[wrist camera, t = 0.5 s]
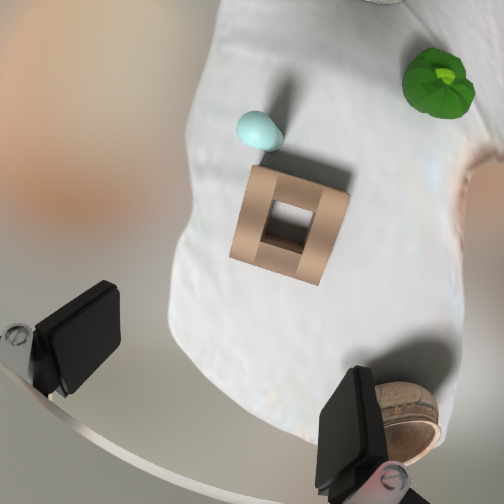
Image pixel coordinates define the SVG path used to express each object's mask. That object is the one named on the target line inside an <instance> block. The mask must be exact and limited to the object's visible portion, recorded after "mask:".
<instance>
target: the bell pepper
mask: <svg viewBox="0 0 504 504" xmlns="http://www.w3.org/2000/svg"><path fill="white" fill-rule="evenodd" d="M402 85H403V91H404V96H405V98H406V99H407V101H408V103H409V104H410V105H411V106H412V107H414V108H415V109H417V110H418V111H419V112H422V113H429V114H430V115H431V116H433V117H436V118H441V119H456V118H460V117H462V116H463V115H464V114H465V113H466V112H468V110H469V107H470V105H471V103H472V101H473V98H474V96H475V90H474V87H473V84H472V83H471V82H470V81H469V80H467V79H466V71H465V68H464V66H463V64H462V62H461V60H460V58H458V57H455V56H453V55H451V54H449V53H446V52H444V51H441V50H439V49H436V48H428V49H426V50H425V51H423V52H421V53H420V54H419V55H418V56H417V57H416V58H415V59H414V60H413V61H412V62H411V63H410V65H409V66H408V68H407V71H406V74H405V77H404V80H403V84H402Z"/></svg>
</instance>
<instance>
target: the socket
mask: <svg viewBox="0 0 504 504" xmlns="http://www.w3.org/2000/svg"><path fill="white" fill-rule="evenodd" d="M350 196H351V195H349V194H348V193H346V192H344V191H341V190H338V189H336V188H333V187H330V186H327V185H324V184H321V183H318V182H314V181H311V180H308V179H305V178H302V177H299V176H295V175H292V174H289V173H285V172H282V171H278V170H275V169H271V168H268V167H264V166H260V165H252V169H251V172H250V176H249V180H248V184H247V188H246V191H245V195H244V199H243V203H242V207H241V211H240V215H239V219H238V222H237V226H236V230H235V234H234V238H233V242H232V246H231V250H230V254H229V257H230V258H233V259H236V260H239V261H242V262H245V263H248V264H251V265H255V266H258V267H261V268H264V269H267V270H270V271H273V272H276V273H279V274H282V275H286V276H289V277H292V278H295V279H298V280H301V281H304V282H307V283H311V284H314V285H317V286H318V285H319V283H320V280H321V277H322V275H323V272H324V270H325V267H326V265H327V262H328V259H329V257H330V254H331V251H332V248H333V246H334V243H335V240H336V237H337V235H338V232H339V229H340V226H341V223H342V220H343V217H344V214H345V211H346V208H347V205H348V202H349V199H350ZM275 200H277V201H280V202H283V203H287V204H290V205H293V206H296V207H299V208H303V209H306V210H309V211H312V212H314V213H313V216H312V219H311V222H310V225H309V228H308V231H307V234H306V237H305V240H304V243H303V245H302V244H299V243H296V242H293V241H289V240H286V239H283V238H280V237H277V236H274V235H271V234H267V233H265V232H266V228H267V225H268V221H269V218H270V215H271V211H272V208H273V204H274V201H275Z"/></svg>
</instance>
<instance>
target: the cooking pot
mask: <svg viewBox="0 0 504 504" xmlns="http://www.w3.org/2000/svg"><path fill="white" fill-rule="evenodd" d="M375 391H376V396H377V401H378V404H379V405H380V407H381V412H382V418H383V424H384V430H385V436H386V443H387V450H388V458H389V461H398V462H401V463H402V464H404V465H405V466H408V465H410V464H412V463H414V462H416V461H417V460H419V459H421V458H422V457H423V456H425V455H426V454H427V453H429V452H430V451H431V450H432V449H433V448H434V447H435V446H436V444H437V443H438V441H439V439H440V437H441V428H440V427H439V425H438V416H439V412H438V406H437V402H436V400H435V398H434V397H433V395H432V394H431V393H430V392H429V391H428V390H426V389H425V388H424V387H422V386H420V385H417V384H415V383H410V382H389V383H384V384H380V385H377V386H375Z"/></svg>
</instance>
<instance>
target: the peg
mask: <svg viewBox="0 0 504 504" xmlns="http://www.w3.org/2000/svg"><path fill="white" fill-rule="evenodd" d="M236 131H237V135H238V137H239V139H240V140H241V141H242V142H243V143H245V144H246V145H249V146H252V147H255V148H258V149H261V150H264V151H267V152H274V151H276V150H278V149H279V148H280V147H281V146H282V144H283V140H284V138H283V134H282V132H281V131H280V130H279V129H278V127H277V126H276V125H275V124H274V122H273V121H272V120H271V119H270V118H269V116H268V115H266V114H265V113H263V112H260V111H251V112H248V113H246V114H244V115H243V116H242V117H241V118H240V119H239V121H238V123H237V127H236Z"/></svg>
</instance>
